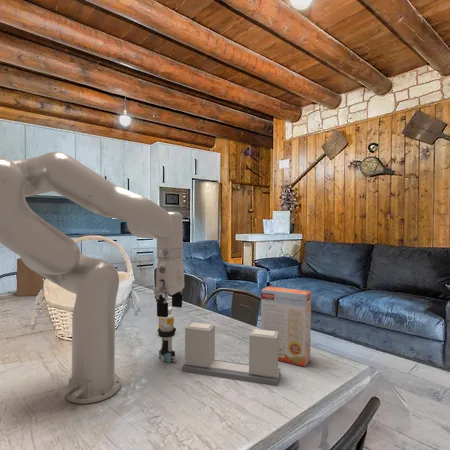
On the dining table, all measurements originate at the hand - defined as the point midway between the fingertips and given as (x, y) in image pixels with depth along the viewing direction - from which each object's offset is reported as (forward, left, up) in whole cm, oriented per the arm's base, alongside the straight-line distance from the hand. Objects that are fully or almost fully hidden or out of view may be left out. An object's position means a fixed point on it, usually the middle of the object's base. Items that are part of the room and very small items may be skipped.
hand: (170, 311), depth 93 cm
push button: (-1, 0, -15) cm, 15 cm away
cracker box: (+11, -33, -15) cm, 38 cm away
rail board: (-2, -19, -14) cm, 24 cm away
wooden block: (+51, +107, -15) cm, 120 cm away
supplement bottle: (+18, +10, -15) cm, 26 cm away
